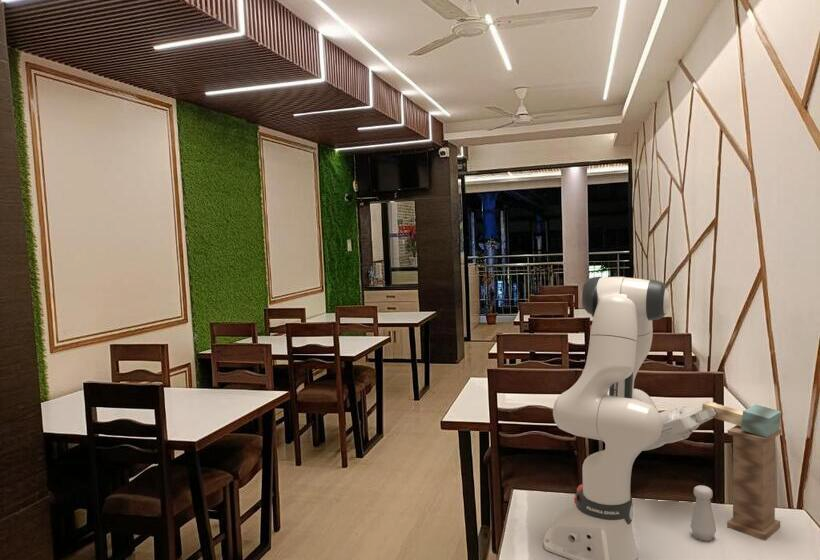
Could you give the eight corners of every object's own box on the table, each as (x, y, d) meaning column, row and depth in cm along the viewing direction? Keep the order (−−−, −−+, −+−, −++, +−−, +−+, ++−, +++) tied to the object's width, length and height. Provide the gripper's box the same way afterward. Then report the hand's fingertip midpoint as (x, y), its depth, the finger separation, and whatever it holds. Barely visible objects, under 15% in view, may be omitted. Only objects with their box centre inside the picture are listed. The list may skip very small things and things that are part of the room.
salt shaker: (719, 543, 144) (719, 493, 143) (694, 542, 146) (694, 492, 145) (711, 531, 150) (711, 483, 149) (688, 530, 151) (687, 482, 150)
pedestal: (727, 527, 152) (727, 430, 150) (743, 514, 158) (743, 421, 156) (765, 540, 145) (766, 439, 143) (780, 526, 151) (781, 429, 149)
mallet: (697, 416, 157) (699, 398, 156) (710, 409, 162) (712, 392, 161) (766, 437, 144) (769, 418, 143) (778, 430, 149) (781, 411, 148)
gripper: (650, 422, 160) (694, 406, 150) (686, 406, 173) (729, 391, 163) (662, 444, 158) (707, 430, 148) (697, 427, 171) (740, 412, 161)
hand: (718, 409), depth 156 cm, fingers closed on mallet, 3 cm apart
